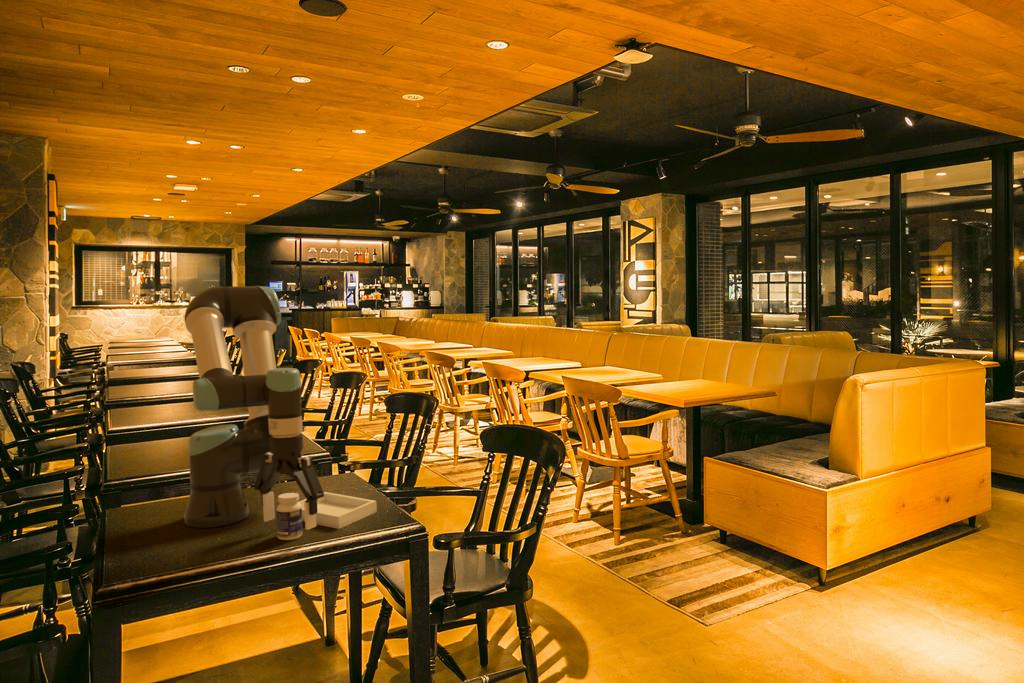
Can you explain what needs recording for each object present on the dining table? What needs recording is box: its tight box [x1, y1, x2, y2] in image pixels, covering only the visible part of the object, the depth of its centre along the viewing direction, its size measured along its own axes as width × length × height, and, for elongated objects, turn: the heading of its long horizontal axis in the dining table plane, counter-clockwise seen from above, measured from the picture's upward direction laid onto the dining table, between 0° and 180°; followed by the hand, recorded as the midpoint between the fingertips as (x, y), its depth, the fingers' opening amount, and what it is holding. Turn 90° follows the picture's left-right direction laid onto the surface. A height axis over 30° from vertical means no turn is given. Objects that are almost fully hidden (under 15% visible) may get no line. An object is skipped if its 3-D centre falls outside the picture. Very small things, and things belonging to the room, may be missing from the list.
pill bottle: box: [275, 492, 303, 541], centre depth 160 cm, size 6×6×10 cm
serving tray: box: [298, 491, 378, 530], centre depth 175 cm, size 18×14×3 cm
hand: (289, 523), depth 160 cm, fingers open, 13 cm apart
